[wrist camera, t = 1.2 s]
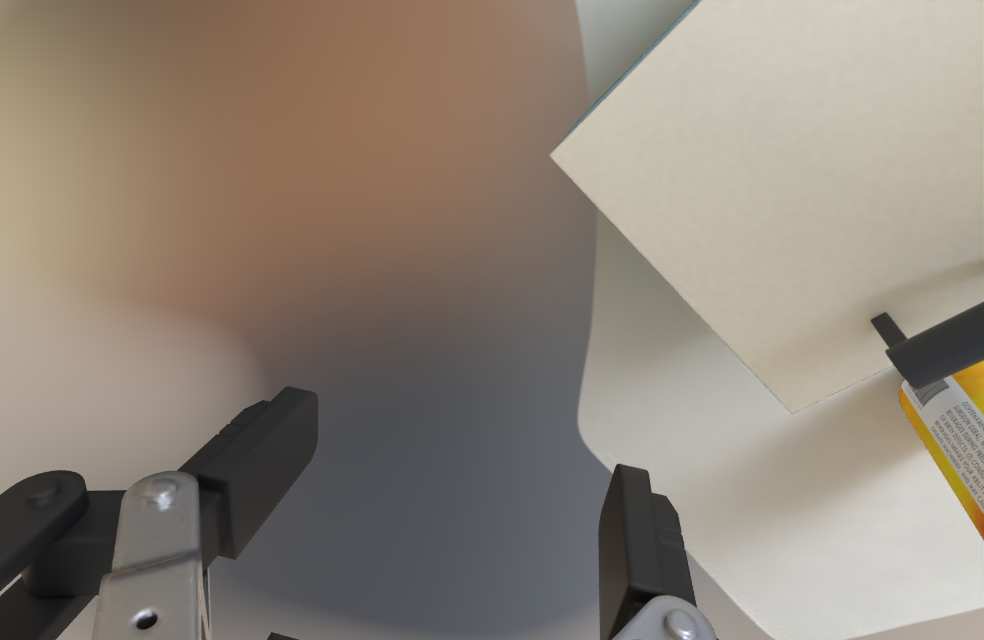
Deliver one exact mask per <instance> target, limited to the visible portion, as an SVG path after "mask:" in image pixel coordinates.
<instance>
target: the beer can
mask: <svg viewBox="0 0 984 640" xmlns="http://www.w3.org/2000/svg"><path fill="white" fill-rule="evenodd" d="M899 401H900V405H901V407H902V409H903V411H904V412H905V414H906V416H907V417H908V419H909V420H910V422H911V424H912V425H913V427H914V428H915V430H916V432H917V433H918V435H919V436H920V438H921V440H922V441H923V443H924V445H925V446H926V448H927V449H928V451H929V453H930V454H931V456H932V457H933V459H934V461H935V462H936V464H937V465H938V467H939V469H940V470H941V472H942V474H943V475H944V477H945V478H946V480H947V482H948V483H949V485H950V486H951V488H952V490H953V491H954V493H955V494H956V496H957V498H958V499H959V501H960V503H961V504H962V506H963V507H964V509H965V511H966V512H967V514H968V515H969V517H970V519H971V520H972V522H973V523H974V525H975V527H976V528H977V530H978V532H979V533H980V535H981V536H982V538H983V540H984V361H982V362H980V363H977V364H975V365H973V366H971V367H968V368H966V369H964V370H962V371H959V372H957V373H955V374H953V375H950V376H948V377H946V378H944V379H941V380H939V381H937V382H934V383H932V384H930V385H928V386H925V387H923V388H921V389H919V390H915V389H914V388H913V387H912V386H911V385H910V384H909V383H908V382H907V381H906V379H905V380H904V381H903V383H902V385H901V388H900V391H899Z"/></svg>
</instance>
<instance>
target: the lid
mask: <svg viewBox="0 0 984 640" xmlns="http://www.w3.org/2000/svg"><path fill="white" fill-rule="evenodd" d="M549 156H550V158H552V160H553V161H554V162H555V163H556V164H557V165H558V166H559V167H560V168H561V169H562V170H563V171H564V172H565V173H566V175H567V176H568V177H569V178H570V179H571V180H572V181H573V182H574V183H575V184H576V185H577V186H578V187H579V188H580V189H581V191H582V192H583V193H584V194H585V195H586V196H587V197H588V198H589V199H590V200H591V201H592V202H593V203H594V204H595V205H596V206H597V208H598V209H599V210H600V211H601V212H602V213H603V214H604V215H605V216H606V217H607V218H608V219H609V220H610V221H611V222H612V223H613V225H614V226H615V227H616V228H617V229H618V230H619V231H620V232H621V233H622V234H623V235H624V236H625V237H626V238H627V239H628V241H629V242H630V243H631V244H632V245H633V246H634V247H635V248H636V249H637V250H638V251H639V252H640V253H641V254H642V255H643V256H644V258H645V259H646V260H647V261H648V262H649V263H650V264H651V265H652V266H653V267H654V268H655V269H656V270H657V271H658V272H659V273H660V275H661V276H662V277H663V278H664V279H665V280H666V281H667V282H668V283H669V284H670V285H671V286H672V287H673V288H674V289H675V291H676V292H677V293H678V294H679V295H680V296H681V297H682V298H683V299H684V300H685V301H686V302H687V303H688V304H689V305H690V306H691V308H692V309H693V310H694V311H695V312H696V313H697V314H698V315H699V316H700V317H701V318H702V319H703V320H704V321H705V322H706V324H707V325H708V326H709V327H710V328H711V329H712V330H713V331H714V332H715V333H716V334H717V335H718V336H719V337H720V338H721V339H722V341H723V342H724V343H725V344H726V345H727V346H728V347H729V348H730V349H731V350H732V351H733V352H734V353H735V354H736V355H737V356H738V358H739V359H740V360H741V361H742V362H743V363H744V364H745V365H746V366H747V367H748V368H749V369H750V370H751V371H752V372H753V374H754V375H755V376H756V377H757V378H758V379H759V380H760V381H761V382H762V383H763V384H764V385H765V386H766V387H767V388H768V389H769V391H770V392H771V393H772V394H773V395H774V396H775V397H776V398H777V399H778V400H779V401H780V402H781V403H782V404H783V405H784V406H785V408H786V409H787V410H788V411H789V412H790V413H791V414H793V413H795V412H797V411H799V410H801V409H803V408H805V407H807V406H810V405H812V404H814V403H816V402H818V401H820V400H822V399H824V398H826V397H828V396H831V395H833V394H835V393H837V392H839V391H841V390H843V389H845V388H847V387H850V386H852V385H854V384H856V383H858V382H860V381H862V380H864V379H866V378H868V377H871V376H873V375H875V374H877V373H879V372H881V371H883V370H885V369H887V368H890V367H892V366H895V367H896V368H897V370H898V371H899V372H900V373H901V375H902V376H903V377H904V378H905V379H906V381H907V382H908V383H909V384H910V385H911V386H912V387H913V388H914V389H915V390H919V389H921V388H923V387H925V386H928V385H930V384H932V383H934V382H937V381H939V380H941V379H944V378H946V377H948V376H950V375H953V374H955V373H957V372H959V371H962V370H964V369H966V368H968V367H971V366H973V365H975V364H977V363H980V362H982V361H984V0H701V1H700V2H699V3H698V4H697V6H696V7H695V8H694V9H693V10H692V11H691V12H690V13H689V14H688V15H687V16H686V17H685V18H684V19H683V20H682V21H681V22H680V23H679V24H678V25H677V26H676V27H675V28H674V29H673V30H672V31H671V32H670V33H669V34H668V35H667V36H666V37H665V38H664V39H663V40H662V41H661V42H660V43H659V44H658V45H657V46H656V47H655V48H654V49H653V50H652V51H651V52H650V53H649V54H648V55H647V56H646V57H645V58H644V59H643V60H642V61H641V62H640V63H639V64H638V65H637V66H636V67H635V68H634V69H633V70H632V71H631V72H630V73H629V74H628V75H627V76H626V77H625V78H624V79H623V80H622V81H621V82H620V83H619V84H618V86H617V87H616V88H615V89H614V90H613V91H612V92H611V93H610V94H609V95H608V96H607V97H606V98H605V99H604V100H603V101H602V102H601V103H600V104H599V105H598V106H597V107H596V108H595V109H594V110H593V111H592V112H591V113H590V114H589V115H588V116H587V117H586V118H585V119H584V120H583V121H582V122H581V123H580V124H579V125H578V126H577V127H576V128H575V129H574V130H573V131H572V132H571V133H570V134H569V135H568V136H567V137H566V138H565V139H564V140H563V141H562V142H561V143H560V144H559V145H558V146H557V147H556V148H555V149H554V150H553V151H552V152H551V154H550V155H549Z"/></svg>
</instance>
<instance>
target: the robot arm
mask: <svg viewBox="0 0 984 640" xmlns="http://www.w3.org/2000/svg"><path fill="white" fill-rule="evenodd" d="M317 440H318V397H317V394H316V393H315V392H311V391H307V390H302V389H298V388H294V387H289V386H288V387H286V388H284V389H283V390H282V391H281V392H280V393H279V394H278V395H277V396H276V397H275V398H274V399H273V400H272V401H271V402H269V401H264V400H263V401H260V402H258V403H256V404H254V405H252V406H250V407H248V408H246V409H244V410H243V411H242V412H241V413H240V414H238V415H237V416H236V417H235V418H234V419H233V420H232V421H231V423H230V424H227V425H226V426H225V427H224V428H223V429H222V430H221V431H220V433H219V435H218V434H217V435H215V436H214V437H213V438H212V439H211V440H210V441H209V442H208V443H207V444H206V445H205V446H203V447H202V448H201V449H200V450H199V451H198V452H197V453H196V454H195V455H194V456H193V457H192V458H190V459H189V460H188V461H187V462H186V463H185V464H184V465H183V466H182V467H180V468H179V469H178V470H177V471H165V472H160V473H156V474H153V475H150V476H148V477H145V478H143V479H141V480H140V481H138V482H136V483H135V484H133V485H132V486H131V487H130V488H129V489H128V490H120V491H119V490H118V491H117V490H116V491H115V490H114V491H87V489H86V484H85V480H84V479H83V477H82V476H81V475H80V474H78V473H76V472H72V471H65V470H64V471H63V470H58V471H50V472H44V473H41V474H37V475H34V476H31V477H28V478H26V479H24V480H22V481H20V482H18V483H17V484H15V485H13V486H12V487H10V488H9V489H8V490H6V491H5V492H4V493H2V494H1V495H0V591H1V590H2V589H3V588H4V587H6V585H8V584H9V583H10V582H11V581H12V580H13V579H14V578H15V577H16V576H18V575H19V574H20V573H21V575H22V577H21V578H19V579H18V580H17V581H16V582H15V583H14V584H13V585H12V586H11V587H10V588H9V589H8V590H6V591H5V592H4V593H3V594H2V595H1V596H0V640H55V639H57V638H58V636H59V635H60V634H61V633H62V632H63V631H64V630H65V629H66V628H67V626H68V625H69V624H70V623H71V622H72V621H73V620H74V619H75V618H76V617H77V615H78V614H79V613H80V612H81V611H82V610H83V609H84V608H85V607H86V606H87V604H88V603H89V602H90V601H91V600H92V599H93V598H94V597H95V596H96V595H99V597H98V603H97V609H96V615H95V621H94V628H93V634H92V640H211V613H210V586H209V569H208V566H209V565H210V564H211V563H212V561H213V560H214V559H215V558H216V557H217V555H220V556H223V557H227V558H231V559H234V560H236V558H237V557H238V556H239V554H240V553H241V552H242V550H243V549H244V548H245V546H246V545H247V544H248V542H249V541H250V540H251V539H252V537H253V536H254V535H255V533H256V532H257V531H258V529H259V528H260V527H261V525H262V524H263V523H264V522H265V520H266V519H267V517H268V516H269V515H270V514H271V512H272V511H273V510H274V508H275V507H276V506H277V504H278V503H279V502H280V500H281V499H282V498H283V496H284V495H285V494H286V492H287V491H288V490H289V488H290V487H291V486H292V485H293V483H294V482H295V481H296V479H297V478H298V477H299V475H300V474H301V473H302V472H303V470H304V469H305V467H306V466H307V465H308V464H309V462H310V461H311V459H312V457H313V455H314V452H315V450H316V446H317ZM599 598H600V599H599V601H600V640H718V639H717V638H716V634H715V632H714V629H713V627H712V625H711V624H710V622H709V621H708V619H707V618H706V617H705V616H704V615H703V613H702V612H701V611H699V610H698V609H697V605H696V601H695V596H694V591H693V586H692V581H691V576H690V571H689V566H688V561H687V556H686V551H685V550H684V541H683V537H682V535H681V527H680V522H679V517H678V513H677V512H676V510H675V509H674V507H673V506H672V504H671V503H670V501H669V500H668V498H667V497H666V496H664V495H660V494H655V493H652V492H651V485H650V478H649V473H648V471H647V470H644V469H640V468H635V467H631V466H627V465H622V464H617V465H616V467H615V470H614V473H613V476H612V479H611V482H610V486H609V489H608V492H607V495H606V498H605V501H604V504H603V508H602V511H601V516H600V522H599ZM267 640H297V639H294V638H290V637H287V636H283V635H280V634H276V633H273V632H271V634H270V636H269V637H268V639H267Z"/></svg>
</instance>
